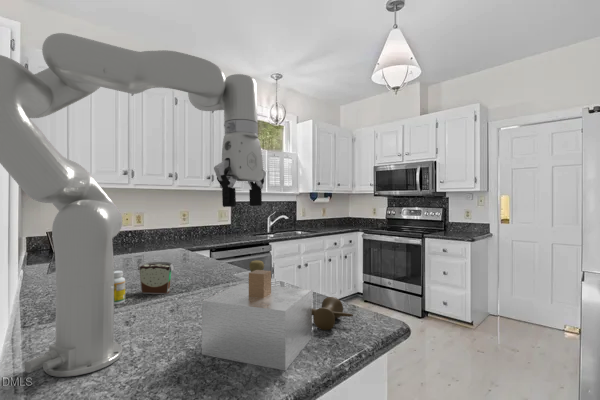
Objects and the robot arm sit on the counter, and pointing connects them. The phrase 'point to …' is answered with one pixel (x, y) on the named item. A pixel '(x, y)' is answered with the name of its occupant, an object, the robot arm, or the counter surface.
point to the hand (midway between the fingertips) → (243, 206)
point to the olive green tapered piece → (256, 265)
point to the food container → (155, 277)
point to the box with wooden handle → (257, 322)
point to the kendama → (328, 313)
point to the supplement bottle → (119, 287)
